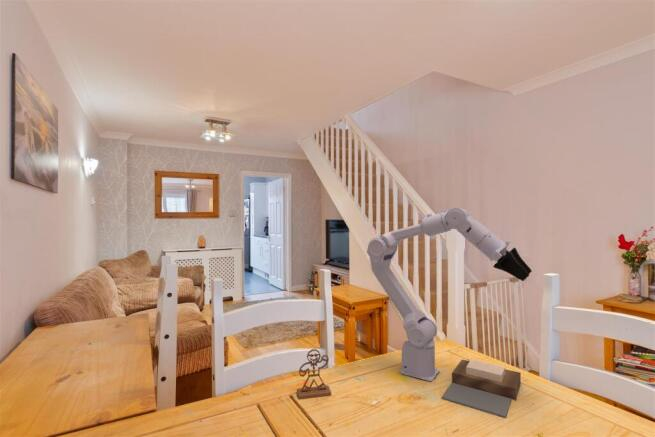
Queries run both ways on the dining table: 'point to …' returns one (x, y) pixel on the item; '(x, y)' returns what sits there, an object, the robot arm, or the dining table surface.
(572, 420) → the dining table surface
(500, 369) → the tile
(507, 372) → the block
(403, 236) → the robot arm
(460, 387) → the mat
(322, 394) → the gingerbread man figurine
